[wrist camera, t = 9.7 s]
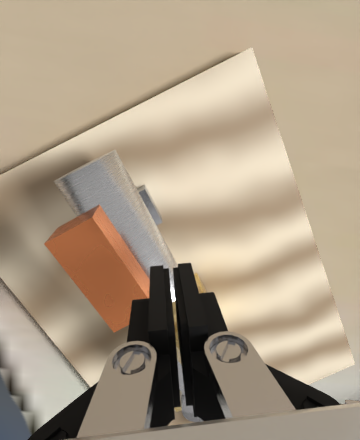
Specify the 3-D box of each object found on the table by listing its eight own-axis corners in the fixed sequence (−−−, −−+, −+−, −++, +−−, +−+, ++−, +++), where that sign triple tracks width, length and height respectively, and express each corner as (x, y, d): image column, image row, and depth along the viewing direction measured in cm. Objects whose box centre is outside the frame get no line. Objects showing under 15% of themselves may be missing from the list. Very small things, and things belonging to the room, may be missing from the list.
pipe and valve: (259, 392, 32) (292, 472, 25) (210, 414, 32) (229, 499, 25) (129, 141, 22) (120, 150, 15) (60, 176, 22) (17, 202, 15)
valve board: (346, 353, 33) (355, 364, 32) (147, 443, 35) (147, 456, 33) (245, 51, 22) (251, 47, 21) (-47, 199, 23) (-59, 204, 22)
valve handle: (99, 204, 15) (92, 217, 13) (219, 384, 20) (227, 413, 18) (57, 227, 15) (43, 243, 13) (187, 400, 20) (191, 431, 18)
